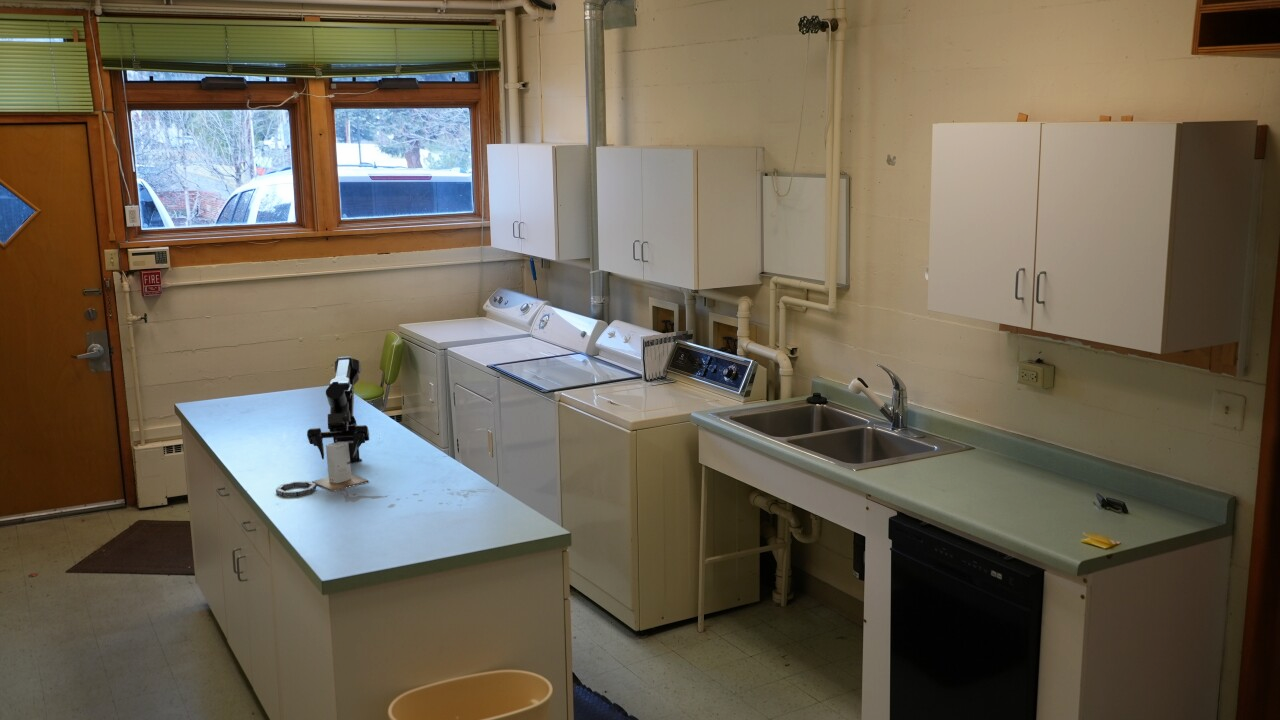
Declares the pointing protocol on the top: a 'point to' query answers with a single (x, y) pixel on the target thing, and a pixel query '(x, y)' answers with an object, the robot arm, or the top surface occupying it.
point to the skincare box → (338, 462)
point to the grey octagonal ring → (309, 490)
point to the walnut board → (335, 486)
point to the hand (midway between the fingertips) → (337, 457)
